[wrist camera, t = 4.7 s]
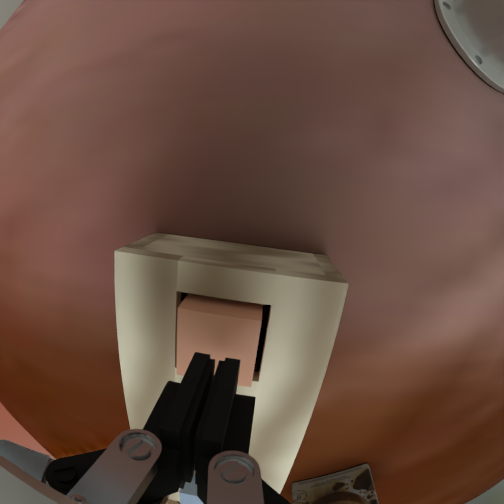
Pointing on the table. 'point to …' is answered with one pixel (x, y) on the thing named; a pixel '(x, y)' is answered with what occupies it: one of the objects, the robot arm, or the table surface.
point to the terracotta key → (219, 332)
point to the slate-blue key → (189, 493)
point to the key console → (240, 289)
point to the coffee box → (337, 488)
